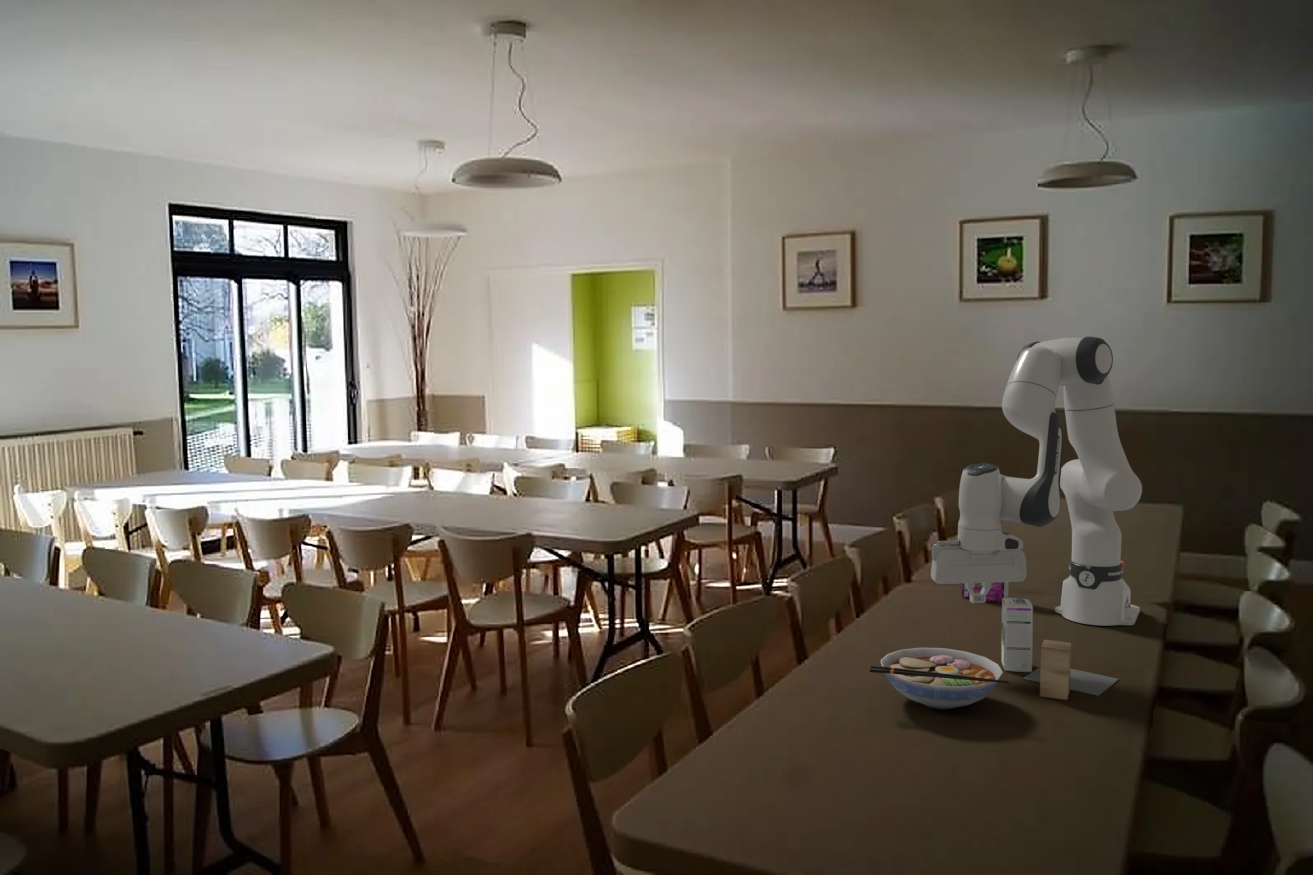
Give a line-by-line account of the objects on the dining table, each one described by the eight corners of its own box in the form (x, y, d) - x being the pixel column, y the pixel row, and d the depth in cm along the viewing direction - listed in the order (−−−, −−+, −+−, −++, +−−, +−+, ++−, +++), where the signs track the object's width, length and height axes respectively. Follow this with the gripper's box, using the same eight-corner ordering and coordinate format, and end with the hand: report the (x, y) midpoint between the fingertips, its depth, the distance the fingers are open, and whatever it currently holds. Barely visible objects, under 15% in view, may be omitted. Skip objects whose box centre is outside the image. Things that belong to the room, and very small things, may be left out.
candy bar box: (961, 598, 271) (962, 537, 269) (966, 593, 275) (967, 534, 273) (1004, 604, 265) (1006, 542, 263) (1008, 599, 269) (1010, 538, 267)
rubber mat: (1045, 664, 218) (1045, 663, 218) (1118, 679, 208) (1118, 678, 208) (1023, 679, 209) (1023, 678, 209) (1098, 696, 199) (1098, 695, 199)
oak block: (1042, 687, 204) (1044, 639, 203) (1069, 691, 202) (1071, 642, 201) (1039, 695, 200) (1041, 646, 199) (1067, 699, 198) (1068, 650, 197)
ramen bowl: (1008, 689, 204) (1009, 649, 203) (1007, 733, 182) (1009, 689, 181) (881, 676, 212) (881, 638, 211) (866, 717, 190) (867, 674, 189)
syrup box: (1032, 672, 213) (1034, 605, 211) (1003, 671, 214) (1005, 604, 213) (1028, 663, 219) (1030, 597, 217) (999, 662, 220) (1001, 596, 218)
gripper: (937, 544, 216) (935, 607, 217) (1030, 541, 217) (1028, 604, 219) (927, 537, 222) (925, 599, 223) (1018, 535, 223) (1016, 596, 225)
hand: (977, 602), depth 221 cm, fingers closed
